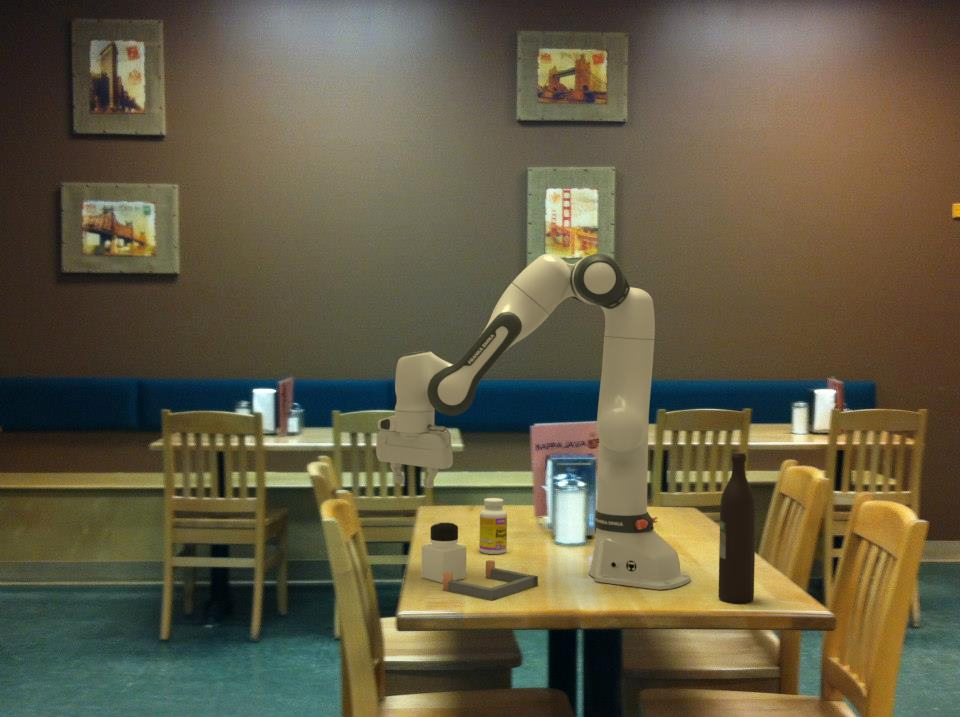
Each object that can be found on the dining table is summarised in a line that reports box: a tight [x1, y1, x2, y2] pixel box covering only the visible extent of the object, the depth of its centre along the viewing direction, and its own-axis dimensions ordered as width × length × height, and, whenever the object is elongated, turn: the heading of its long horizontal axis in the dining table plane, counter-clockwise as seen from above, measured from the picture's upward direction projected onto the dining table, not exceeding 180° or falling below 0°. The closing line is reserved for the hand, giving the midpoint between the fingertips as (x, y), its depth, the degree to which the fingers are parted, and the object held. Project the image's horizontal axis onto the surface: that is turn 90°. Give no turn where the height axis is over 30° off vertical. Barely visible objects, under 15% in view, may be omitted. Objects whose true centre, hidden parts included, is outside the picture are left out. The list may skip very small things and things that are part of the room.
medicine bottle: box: [421, 521, 467, 584], centre depth 237 cm, size 7×7×12 cm
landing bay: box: [442, 560, 539, 601], centre depth 229 cm, size 13×16×4 cm
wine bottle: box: [718, 452, 757, 604], centre depth 220 cm, size 7×7×30 cm
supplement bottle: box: [478, 497, 508, 555], centre depth 263 cm, size 7×7×13 cm
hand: (413, 485), depth 242 cm, fingers open, 7 cm apart
